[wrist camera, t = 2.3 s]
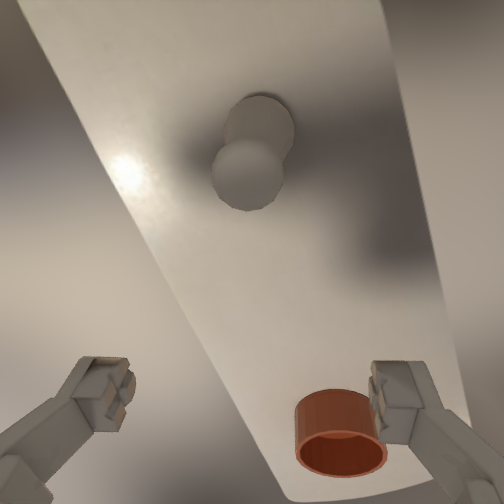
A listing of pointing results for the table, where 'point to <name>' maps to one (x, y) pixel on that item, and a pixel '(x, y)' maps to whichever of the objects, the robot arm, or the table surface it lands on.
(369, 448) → the pot
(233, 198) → the grey rounded piece
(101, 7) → the table surface
